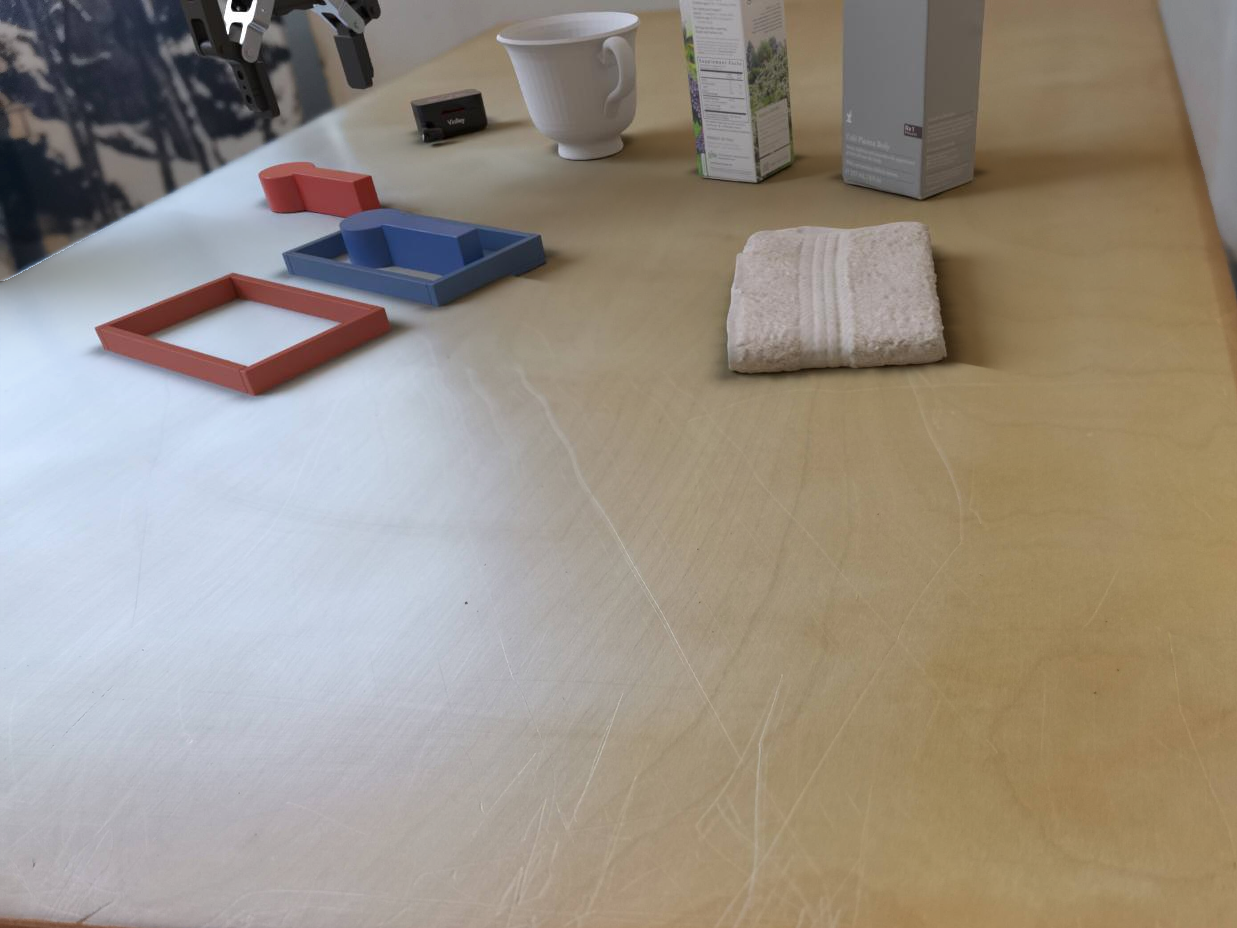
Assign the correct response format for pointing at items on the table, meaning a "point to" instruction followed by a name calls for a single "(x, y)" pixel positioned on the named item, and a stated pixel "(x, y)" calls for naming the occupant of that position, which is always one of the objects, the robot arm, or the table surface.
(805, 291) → the washcloth
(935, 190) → the cosmetic box
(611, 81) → the teacup
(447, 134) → the black electronic device
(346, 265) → the blue frame
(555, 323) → the table surface
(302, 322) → the table surface
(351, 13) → the robot arm
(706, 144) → the syrup box
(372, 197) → the red rounded-end block
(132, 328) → the red frame
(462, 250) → the blue rounded-end block
